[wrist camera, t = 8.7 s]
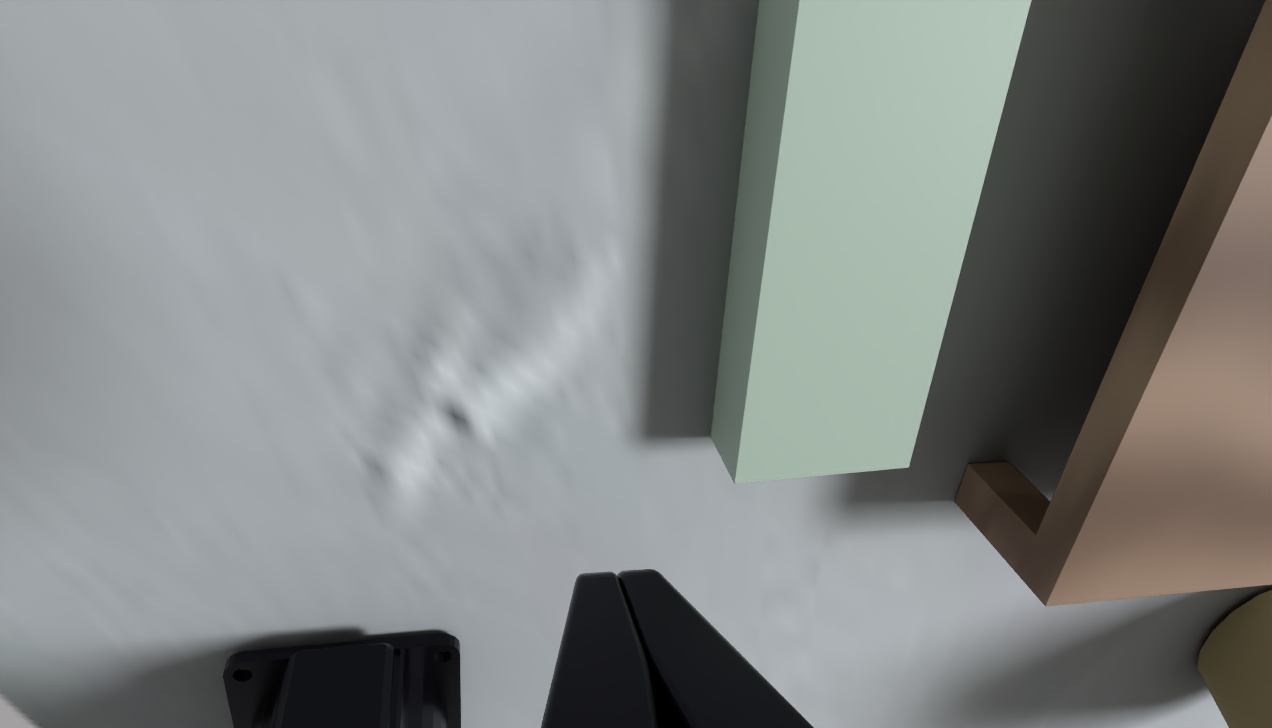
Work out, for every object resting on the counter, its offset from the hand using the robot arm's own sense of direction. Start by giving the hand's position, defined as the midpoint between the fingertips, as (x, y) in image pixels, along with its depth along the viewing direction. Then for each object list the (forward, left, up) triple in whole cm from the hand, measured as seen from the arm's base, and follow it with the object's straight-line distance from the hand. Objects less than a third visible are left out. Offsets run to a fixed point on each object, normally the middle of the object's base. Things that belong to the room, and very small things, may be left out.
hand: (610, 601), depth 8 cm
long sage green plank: (0, -8, -12) cm, 14 cm away
